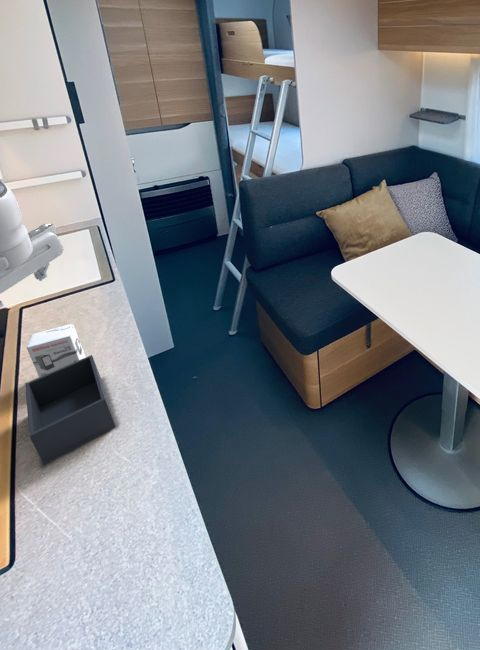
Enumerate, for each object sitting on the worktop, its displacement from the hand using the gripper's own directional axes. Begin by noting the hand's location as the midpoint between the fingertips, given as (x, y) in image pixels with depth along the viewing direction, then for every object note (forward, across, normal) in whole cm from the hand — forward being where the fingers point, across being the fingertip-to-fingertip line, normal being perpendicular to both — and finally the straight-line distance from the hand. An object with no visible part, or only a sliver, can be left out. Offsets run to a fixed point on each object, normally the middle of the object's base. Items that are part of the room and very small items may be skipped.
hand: (20, 291), depth 90 cm
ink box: (+22, +2, +10) cm, 25 cm away
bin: (+16, +10, +23) cm, 30 cm away
